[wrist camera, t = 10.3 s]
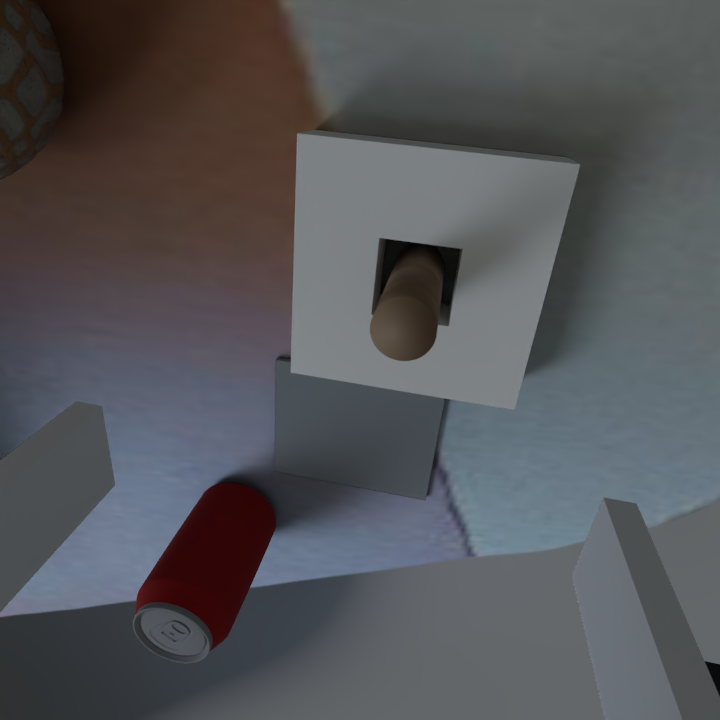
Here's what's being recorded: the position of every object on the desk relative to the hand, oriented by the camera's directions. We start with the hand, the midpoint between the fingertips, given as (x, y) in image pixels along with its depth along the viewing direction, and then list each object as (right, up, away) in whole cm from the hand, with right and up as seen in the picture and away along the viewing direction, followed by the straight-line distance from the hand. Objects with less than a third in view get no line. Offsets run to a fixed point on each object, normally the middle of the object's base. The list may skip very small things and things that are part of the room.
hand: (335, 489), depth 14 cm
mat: (0, -2, +25) cm, 25 cm away
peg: (+4, +9, +18) cm, 21 cm away
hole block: (+4, +9, +18) cm, 21 cm away
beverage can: (-9, -9, +30) cm, 33 cm away
